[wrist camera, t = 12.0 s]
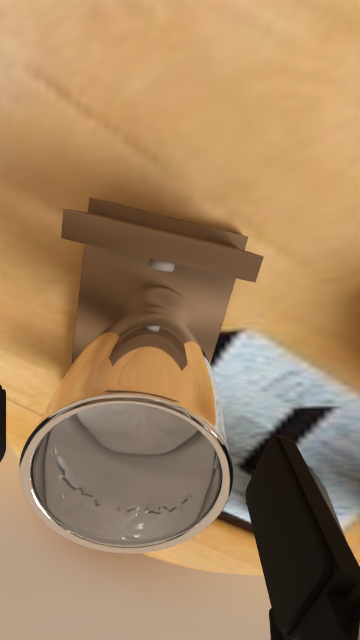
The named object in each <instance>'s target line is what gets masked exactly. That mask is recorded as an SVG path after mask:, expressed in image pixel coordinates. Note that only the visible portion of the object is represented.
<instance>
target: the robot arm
mask: <svg viewBox="0 0 360 640" xmlns="http://www.w3.org/2000/svg"><path fill="white" fill-rule="evenodd" d="M5 451H6V391H5V390H4V389H2V386H1V385H0V462H1V460H2V459H3V456H4V454H5ZM246 502H247V506H248V510H249V515H250V519H251V523H252V527H253V531H254V535H255V540H256V544H257V548H258V552H259V556H260V561H261V565H262V569H263V573H264V577H265V581H266V586H267V590H268V594H269V598H270V602H271V606H272V611H273V615H274V619H275V623H276V626H277V628H278V630H279V631H280V632H283V636H284V640H360V566H359V565H358V563H357V561H356V559H355V557H354V555H353V553H352V551H351V549H350V547H349V545H348V543H347V542H346V540H345V538H344V536H343V534H342V532H341V530H340V528H339V526H338V524H337V522H336V520H335V518H334V517H333V515H332V513H331V511H330V509H329V507H328V505H327V503H326V501H325V499H324V497H323V495H322V494H321V492H320V490H319V488H318V486H317V484H316V482H315V480H314V478H313V476H312V474H311V472H310V470H309V469H308V467H307V465H306V463H305V461H304V459H303V457H302V455H301V453H300V451H299V449H298V447H297V446H296V444H295V442H294V440H293V439H292V438H290V437H284V436H279V435H275V436H274V437H273V438H270V439H269V440H268V442H267V444H266V446H265V448H264V451H263V453H262V455H261V457H260V460H259V462H258V464H257V466H256V468H255V471H254V473H253V475H252V477H251V480H250V482H249V484H248V486H247V489H246Z"/></svg>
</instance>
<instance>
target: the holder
mask: <svg viewBox="0 0 360 640" xmlns="http://www.w3.org/2000/svg"><path fill="white" fill-rule="evenodd" d="M61 238H63V239H67V240H72V241H76V242H80V243H85V246H84V255H83V265H82V274H81V283H80V292H79V301H78V310H77V320H76V329H75V338H74V347H73V356H72V364H73V363H74V361H75V360H76V359H77V357H78V356H79V355H80V354H81V352H82V351H83V350H84V349H85V347H86V346H87V345H88V344H89V343H90V342H91V341H92V340H93V339H94V338H95V337H96V336H97V335H98V334H100V333H101V332H102V331H103V330H104V329H105V328H107V327H108V326H109V325H111V324H112V323H114V322H115V321H117V320H118V318H119V313H120V310H121V308H122V305H123V304H124V302H125V301H126V299H127V298H128V297H129V296H130V295H132V294H133V293H134V292H136V291H138V290H140V289H142V288H146V287H163V288H167V289H170V290H172V291H174V292H175V293H177V294H178V295H180V296H181V297H182V298H183V299H184V301H185V302H186V303H187V305H188V307H189V309H190V312H191V316H192V327H191V332H192V334H193V335H194V337H195V338H196V339H197V341H198V342H199V344H200V345H201V347H202V349H203V351H204V353H205V354H206V356H207V358H208V360H209V363H211V360H212V356H213V353H214V350H215V346H216V343H217V340H218V336H219V333H220V330H221V326H222V323H223V320H224V316H225V313H226V310H227V306H228V303H229V300H230V296H231V293H232V290H233V286H234V283H235V279H236V278H238V279H242V280H246V281H251V282H256V279H257V276H258V272H259V269H260V266H261V263H262V260H263V256H260V255H257V254H254V253H251V252H248V251H245V250H244V249H245V246H246V243H247V239H248V237H247V236H243V235H239V234H235V233H231V232H227V231H223V230H219V229H215V228H211V227H207V226H203V225H199V224H195V223H191V222H187V221H183V220H179V219H175V218H170V217H166V216H162V215H158V214H154V213H150V212H146V211H142V210H138V209H134V208H130V207H126V206H122V205H118V204H114V203H110V202H106V201H102V200H98V199H93V198H90V200H89V210H88V213H87V212H81V211H75V210H69V209H64V211H63V223H62V236H61ZM71 366H72V365H71Z"/></svg>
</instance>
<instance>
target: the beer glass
mask: <svg viewBox="0 0 360 640" xmlns="http://www.w3.org/2000/svg"><path fill="white" fill-rule="evenodd" d="M191 327H192V316H191V312H190V309H189V307H188V305H187V303H186V302H185V301H184V299H183V298H182V297H181V296H180V295H178V294H177V293H175V292H174V291H172V290H170V289H167V288H163V287H146V288H142V289H140V290H138V291H136V292H134V293H133V294H132V295H130V296H129V297H128V298H127V299H126V301H125V302H124V304H123V305H122V308H121V310H120V313H119V318H118V320H117V321H115V322H114V323H112V324H111V325H109V326H108V327H107V328H105V329H104V330H103V331H102V332H101V333H100V334H98V335H97V336H96V337H95V338H94V339H93V340H92V341H91V342H90V343H89V344H88V345H87V346H86V347H85V349H84V350H83V351H82V352H81V354H80V355H79V356H78V357H77V359H76V360H75V361H74V363H73V364H72V366H71V367H70V369H69V370H68V372H67V373H66V375H65V376H64V378H63V380H62V381H61V383H60V385H59V386H58V388H57V390H56V392H55V394H54V395H53V397H52V399H51V401H50V402H49V404H48V406H47V408H46V410H45V412H44V414H43V416H42V418H41V420H40V421H39V423H38V425H37V427H36V428H35V430H34V431H33V432H32V434H31V435H30V437H29V438H28V440H27V442H26V444H25V446H24V448H23V451H22V454H21V458H20V464H19V477H20V484H21V488H22V491H23V494H24V496H25V499H26V501H27V503H28V504H29V506H30V508H32V510H33V512H34V513H35V514H36V515H37V517H38V518H39V519H40V520H41V521H42V522H43V523H44V524H46V525H47V526H48V527H49V528H51V529H52V530H54V531H55V532H56V533H58V534H59V535H61V536H63V537H65V538H66V539H68V540H70V541H73V542H75V543H77V544H80V545H83V546H86V547H89V548H92V549H96V550H101V551H107V552H114V553H145V552H152V551H157V550H162V549H166V548H169V547H172V546H175V545H178V544H180V543H183V542H185V541H187V540H189V539H191V538H193V537H194V536H196V535H197V534H199V533H200V532H202V531H203V530H204V529H206V528H207V527H208V526H209V525H210V524H211V523H212V522H213V521H214V520H215V519H216V518H217V517H218V516H219V514H220V513H221V512H222V510H223V508H224V507H225V505H226V503H227V501H228V498H229V496H230V493H231V489H232V483H233V467H232V462H231V458H230V455H229V451H228V445H227V438H226V430H225V423H224V417H223V411H222V405H221V400H220V396H219V392H218V387H217V383H216V380H215V377H214V374H213V371H212V368H211V365H210V363H209V360H208V358H207V356H206V354H205V353H204V351H203V349H202V347H201V345H200V344H199V342H198V341H197V339H196V338H195V337H194V335H193V334H192V332H191Z"/></svg>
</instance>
